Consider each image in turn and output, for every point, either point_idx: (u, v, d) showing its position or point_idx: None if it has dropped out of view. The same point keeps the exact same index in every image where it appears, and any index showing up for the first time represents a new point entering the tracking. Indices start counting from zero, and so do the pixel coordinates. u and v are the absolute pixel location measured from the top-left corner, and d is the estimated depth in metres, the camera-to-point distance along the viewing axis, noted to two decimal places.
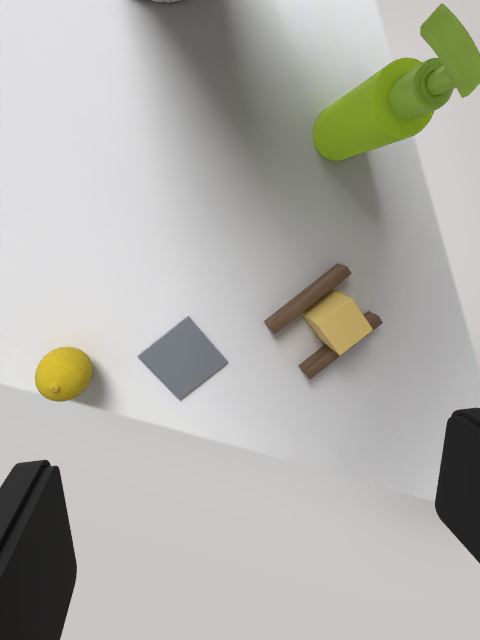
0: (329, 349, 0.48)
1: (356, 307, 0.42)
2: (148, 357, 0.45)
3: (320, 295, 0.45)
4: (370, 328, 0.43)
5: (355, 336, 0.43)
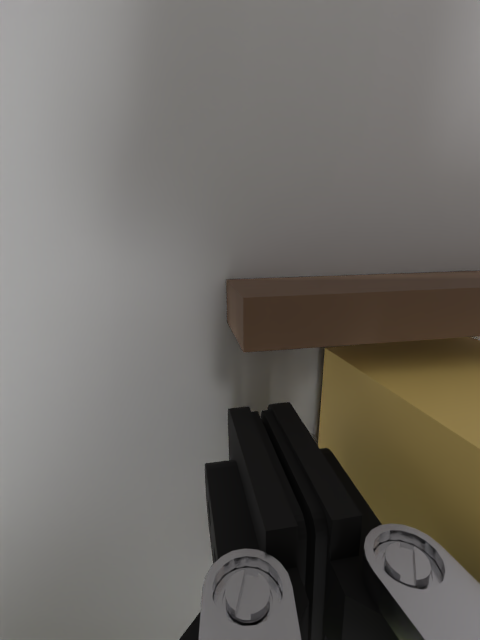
0: None
1: None
2: None
3: None
4: None
5: None
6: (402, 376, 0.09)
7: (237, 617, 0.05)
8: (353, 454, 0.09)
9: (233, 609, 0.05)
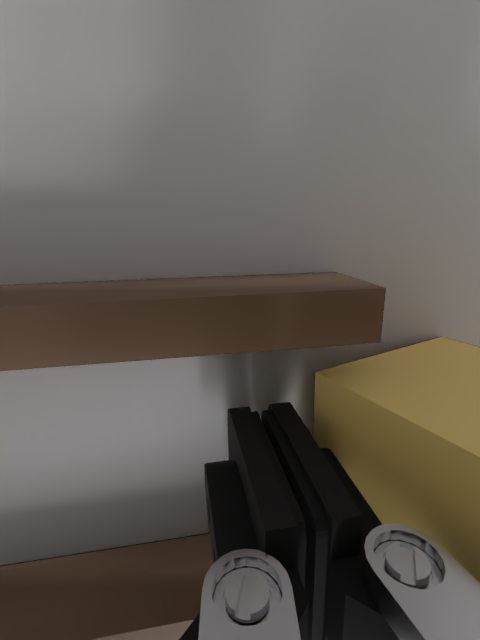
0: None
1: None
2: None
3: None
4: None
5: None
6: (423, 403, 0.07)
7: (237, 617, 0.05)
8: (367, 498, 0.08)
9: (233, 609, 0.05)
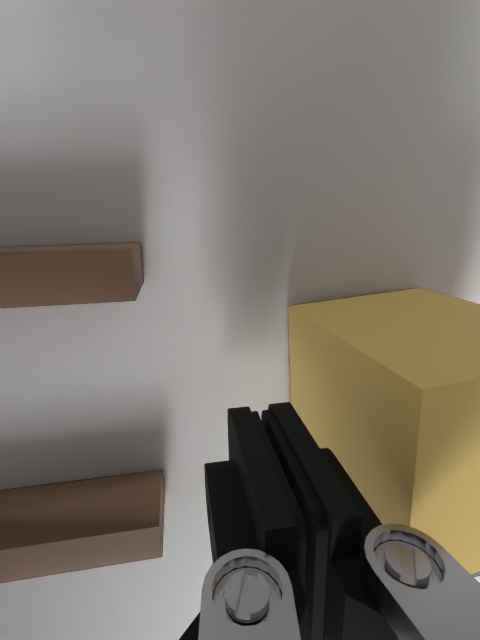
0: None
1: None
2: None
3: None
4: (429, 408, 0.06)
5: None
6: (348, 323, 0.10)
7: (237, 617, 0.05)
8: (314, 395, 0.11)
9: (233, 609, 0.05)
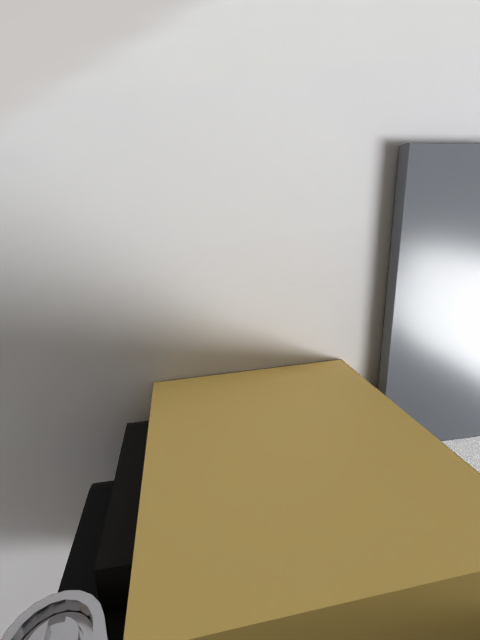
0: None
1: None
2: None
3: None
4: None
5: None
6: None
7: None
8: None
9: None
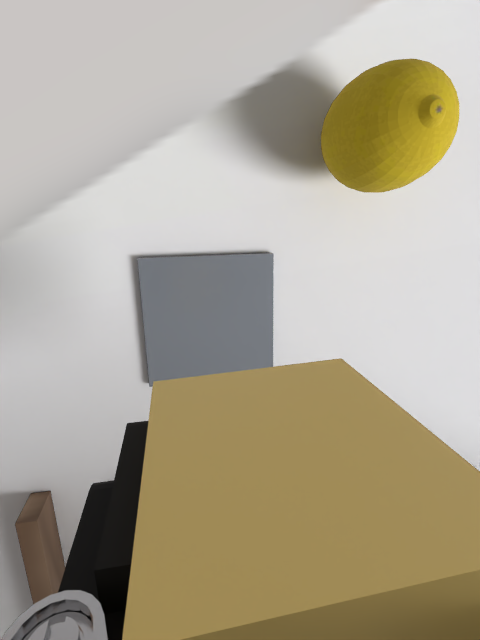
0: (53, 566, 0.24)
1: None
2: (258, 269, 0.22)
3: None
4: None
5: None
6: None
7: None
8: None
9: None
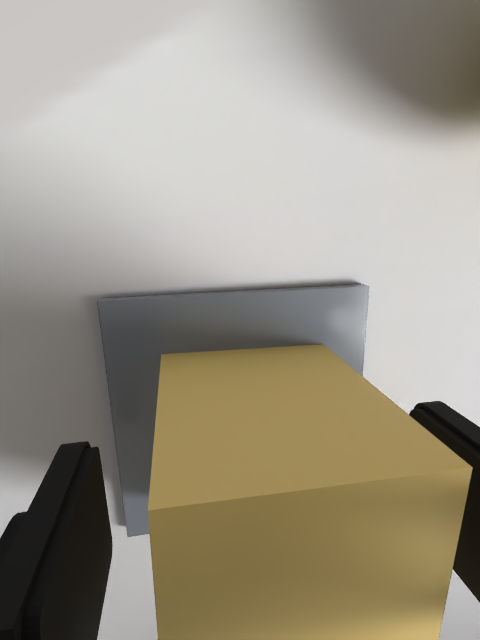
0: None
1: None
2: (339, 316, 0.11)
3: None
4: None
5: None
6: None
7: None
8: None
9: None
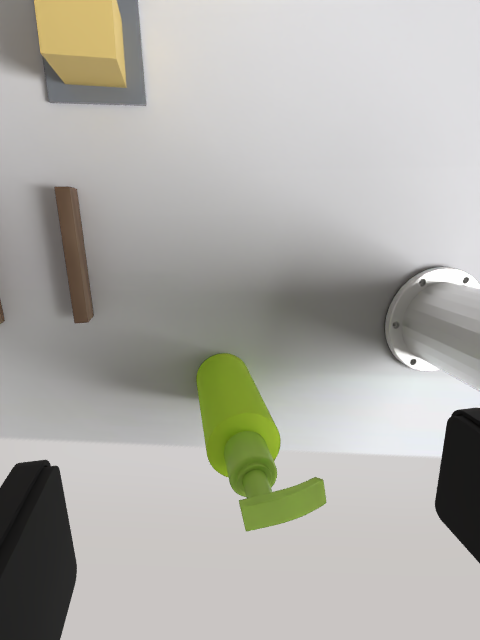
0: None
1: (97, 54, 0.26)
2: (126, 7, 0.30)
3: (69, 273, 0.33)
4: (46, 50, 0.25)
5: (47, 15, 0.24)
6: None
7: None
8: (89, 77, 0.29)
9: None
